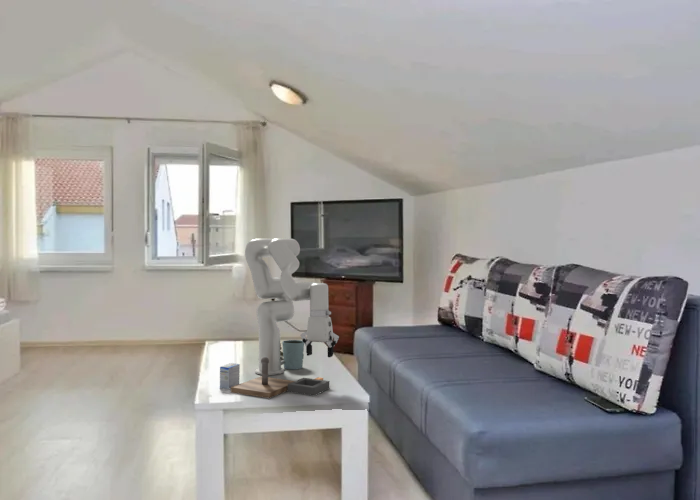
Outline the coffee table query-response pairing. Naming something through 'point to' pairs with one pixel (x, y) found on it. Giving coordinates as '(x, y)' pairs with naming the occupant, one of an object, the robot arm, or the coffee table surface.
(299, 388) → the grey square frame
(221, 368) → the medicine box
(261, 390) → the wooden peg stand
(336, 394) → the coffee table surface
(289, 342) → the teal cup
